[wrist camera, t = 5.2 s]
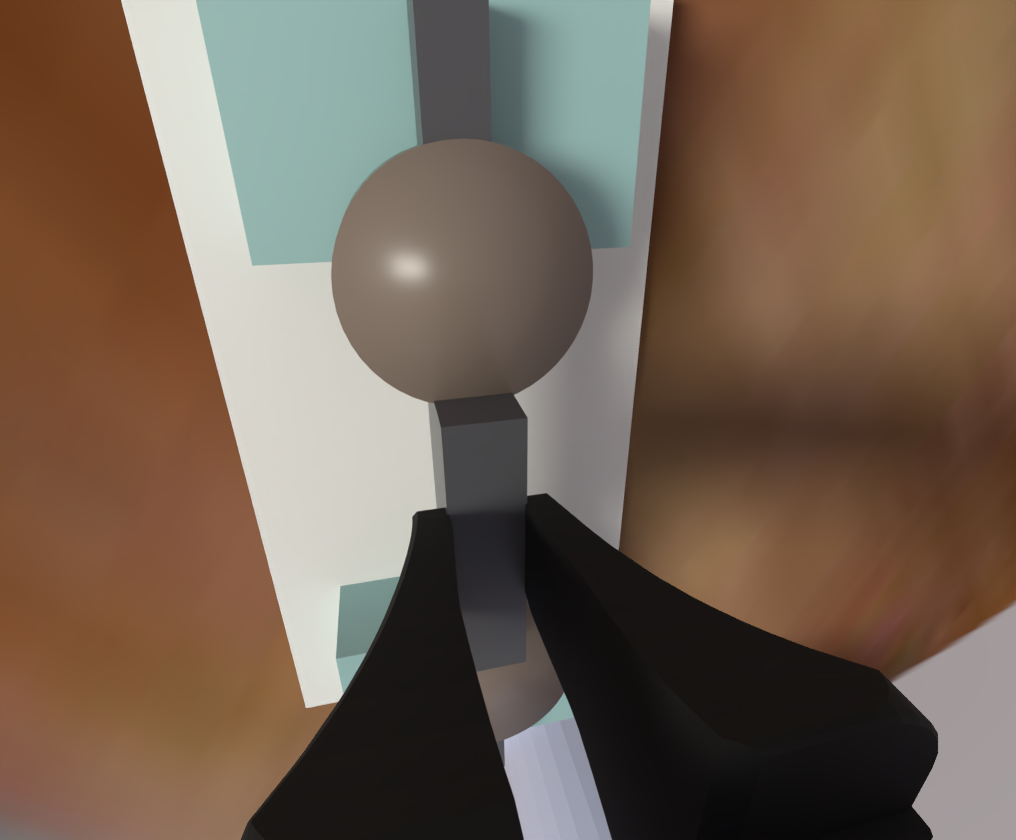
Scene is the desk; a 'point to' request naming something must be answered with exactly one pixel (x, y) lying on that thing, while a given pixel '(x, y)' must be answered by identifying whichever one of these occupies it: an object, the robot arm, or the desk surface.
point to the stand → (308, 261)
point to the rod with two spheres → (469, 327)
